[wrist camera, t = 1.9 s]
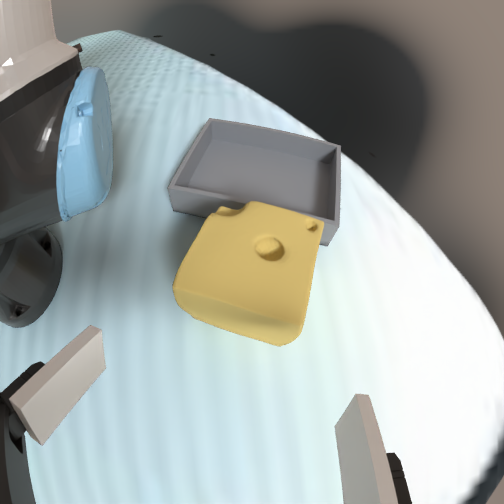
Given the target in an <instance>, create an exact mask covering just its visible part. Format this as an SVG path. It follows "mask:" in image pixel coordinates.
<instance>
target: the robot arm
mask: <svg viewBox="0 0 504 504" xmlns="http://www.w3.org/2000/svg"><path fill="white" fill-rule="evenodd" d="M51 9H52V8H51V0H0V321H1V322H3V323H5V324H7V325H9V326H11V327H16V328H19V327H24V326H27V325H29V324H31V323H33V322H34V321H35V320H37V319H38V318H39V317H40V316H41V315H42V314H43V313H44V311H45V310H46V309H47V307H48V306H49V304H50V302H51V301H52V299H53V297H54V295H55V292H56V290H57V287H58V284H59V280H60V276H61V270H62V254H61V249H60V246H59V243H58V241H57V240H56V238H55V237H54V236H53V235H52V234H51V232H50V231H49V230H48V229H47V228H46V226H48V225H51V224H54V223H57V222H59V221H62V220H63V221H69V220H70V219H71V218H72V216H75V215H77V214H80V213H82V212H85V211H88V210H90V209H93V208H95V207H97V206H99V205H100V204H101V203H102V202H103V201H104V200H105V199H106V197H107V195H108V193H109V191H110V187H111V183H112V173H113V140H112V121H111V109H110V99H109V91H108V85H107V82H106V79H105V74H104V71H103V70H102V69H101V68H99V67H91V66H88V67H86V68H84V69H82V67H81V63H80V58H79V53H78V50H77V49H76V48H74V47H71V46H69V45H67V44H64V43H62V42H60V41H59V40H57V38H56V36H55V31H54V24H53V17H52V10H51ZM105 369H106V365H105V357H104V349H103V339H102V330H101V329H99V328H96V327H94V326H92V325H90V326H88V327H87V328H86V329H85V330H84V331H83V332H81V333H80V334H79V335H78V336H77V337H76V338H74V339H73V340H72V341H71V342H70V343H69V344H68V345H66V346H65V347H64V348H63V349H62V350H61V351H60V352H59V353H57V354H56V355H55V356H54V357H53V358H52V359H51V360H50V361H49V362H48V363H46V364H44V363H42V362H41V361H40V362H38V363H35V364H33V365H31V366H30V367H29V368H28V369H27V370H25V372H23V373H22V374H21V375H20V377H18V378H17V379H16V380H14V381H13V382H12V383H11V384H10V385H9V386H8V387H7V388H6V389H5V390H4V391H3V392H1V393H0V504H36V502H35V498H34V494H33V489H32V484H31V479H30V473H29V467H28V460H27V452H26V442H25V435H24V432H25V431H26V430H27V432H28V433H29V435H30V436H31V437H32V438H33V439H34V440H35V441H37V442H38V443H39V444H41V445H42V446H43V445H44V443H45V442H46V441H47V439H48V438H49V437H50V436H51V434H52V433H53V432H54V430H55V429H56V428H57V427H58V425H59V424H60V423H61V422H62V420H63V419H64V418H65V417H66V415H67V414H68V413H69V412H70V411H71V409H72V408H73V407H74V406H75V404H76V403H77V402H78V401H79V400H80V398H81V397H82V396H83V395H84V394H85V392H86V391H87V390H88V389H89V388H90V386H91V385H92V384H93V383H94V382H95V380H96V379H97V378H98V377H99V376H100V375H101V373H102V372H103V371H104V370H105ZM335 433H336V440H337V448H338V456H339V464H340V472H341V481H342V490H343V501H344V504H412V502H411V498H410V494H409V490H408V486H407V483H406V479H405V478H404V477H405V475H404V472H403V471H402V470H403V468H402V465H401V461H400V460H399V458H398V457H397V456H396V454H395V453H386V451H385V448H384V444H383V441H382V437H381V434H380V430H379V427H378V423H377V420H376V417H375V413H374V410H373V407H372V404H371V401H370V398H369V395H364V394H355V396H354V397H353V399H352V401H351V402H350V404H349V405H348V407H347V408H346V410H345V412H344V413H343V415H342V416H341V418H340V419H339V421H338V422H337V424H336V425H335Z"/></svg>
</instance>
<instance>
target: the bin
mask: <svg viewBox="0 0 504 504" xmlns="http://www.w3.org/2000/svg"><path fill="white" fill-rule="evenodd" d="M340 191H341V146H340V145H336V144H332V143H329V142H325V141H322V140H318V139H314V138H310V137H306V136H302V135H298V134H294V133H290V132H285V131H281V130H276V129H271V128H266V127H261V126H256V125H250V124H245V123H239V122H232V121H226V120H219V119H211V118H209V119H208V121H207V122H206V124H205V126H204V127H203V129H202V130H201V132H200V133H199V135H198V137H197V138H196V140H195V141H194V143H193V145H192V146H191V148H190V150H189V151H188V153H187V155H186V156H185V158H184V160H183V162H182V163H181V165H180V167H179V168H178V170H177V172H176V174H175V176H174V177H173V179H172V181H171V183H170V185H169V186H168V192H169V196H170V200H171V204H172V208H173V211H176V212H181V213H185V214H190V215H195V216H199V217H204V218H207V217H208V216H209V215H210V214H211V213H216V212H217V210H218V208H219V207H221V206H224V207H227V208H230V209H234V210H239V209H241V208H243V207H244V206H245V204H246V203H248V202H250V201H258V202H262V203H265V204H269V205H273V206H277V207H281V208H284V209H287V210H291V211H294V212H297V213H300V214H303V215H306V216H309V217H312V218H315V219H318V220H321V221H323V222H324V228H323V232H322V236H321V240H320V245H324V246H328V245H329V243H330V241H331V240H332V238H333V236H334V235H335V233H336V231H337V229H338V228H339V221H340Z"/></svg>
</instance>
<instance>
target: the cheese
mask: <svg viewBox="0 0 504 504" xmlns="http://www.w3.org/2000/svg"><path fill="white" fill-rule="evenodd" d="M323 228H324V222H323V221H321V220H318V219H315V218H312V217H309V216H306V215H303V214H300V213H297V212H294V211H291V210H287V209H284V208H281V207H277V206H273V205H269V204H265V203H262V202H258V201H250V202H248V203H246V204H245V206H244V207H243V208H241V209H239V210H234V209H230V208H227V207H224V206H221V207H219V208H218V210H217V212H216V213H211V214H210V215H209V216H208V217H207V219H206V220H205V222H204V224H203V226H202V227H201V229H200V231H199V233H198V235H197V236H196V238H195V240H194V242H193V244H192V245H191V247H190V249H189V250H188V252H187V254H186V256H185V257H184V259H183V261H182V263H181V265H180V267H179V269H178V272H177V274H176V277H175V280H174V282H173V293H174V296H175V299H176V302H177V304H178V305H179V306H180V307H181V308H182V309H183V310H184V311H186V312H187V313H189V314H190V315H191V316H192V317H193V318H195V319H198V320H200V321H203V322H205V323H208V324H211V325H213V326H216V327H218V328H221V329H224V330H227V331H230V332H233V333H236V334H239V335H242V336H246V337H249V338H253V339H256V340H259V341H263V342H266V343H269V344H272V345H276V346H282V345H286V344H289V343H291V342H292V341H294V340H295V339H296V338H297V337H298V336H299V335H300V334H301V331H302V328H303V325H304V321H305V316H306V310H307V306H308V301H309V296H310V290H311V284H312V278H313V272H314V266H315V261H316V256H317V252H318V248H319V244H320V240H321V236H322V232H323Z"/></svg>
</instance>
